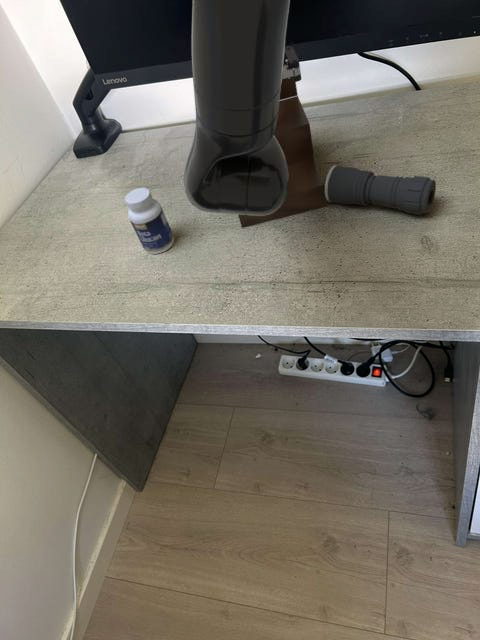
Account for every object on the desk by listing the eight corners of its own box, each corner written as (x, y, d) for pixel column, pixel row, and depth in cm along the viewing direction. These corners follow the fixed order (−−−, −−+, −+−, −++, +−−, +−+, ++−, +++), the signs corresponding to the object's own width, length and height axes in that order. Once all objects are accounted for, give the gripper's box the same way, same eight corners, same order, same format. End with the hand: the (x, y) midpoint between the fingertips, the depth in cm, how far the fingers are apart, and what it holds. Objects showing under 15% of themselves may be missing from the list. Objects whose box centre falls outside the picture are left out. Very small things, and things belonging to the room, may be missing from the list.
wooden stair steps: (305, 147, 90) (291, 57, 78) (327, 205, 77) (315, 108, 66) (232, 167, 92) (208, 82, 80) (241, 227, 79) (215, 136, 67)
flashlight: (438, 201, 72) (440, 168, 68) (426, 223, 69) (428, 192, 65) (340, 188, 79) (337, 158, 75) (326, 208, 77) (322, 178, 73)
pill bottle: (144, 258, 79) (119, 210, 72) (144, 238, 83) (120, 190, 76) (175, 249, 79) (154, 199, 72) (174, 230, 83) (153, 180, 76)
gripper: (299, 60, 56) (298, 11, 67) (181, 86, 59) (198, 36, 70) (308, 122, 61) (305, 67, 73) (199, 143, 65) (213, 88, 76)
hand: (253, 52), depth 71 cm, fingers closed on beverage can, 5 cm apart
